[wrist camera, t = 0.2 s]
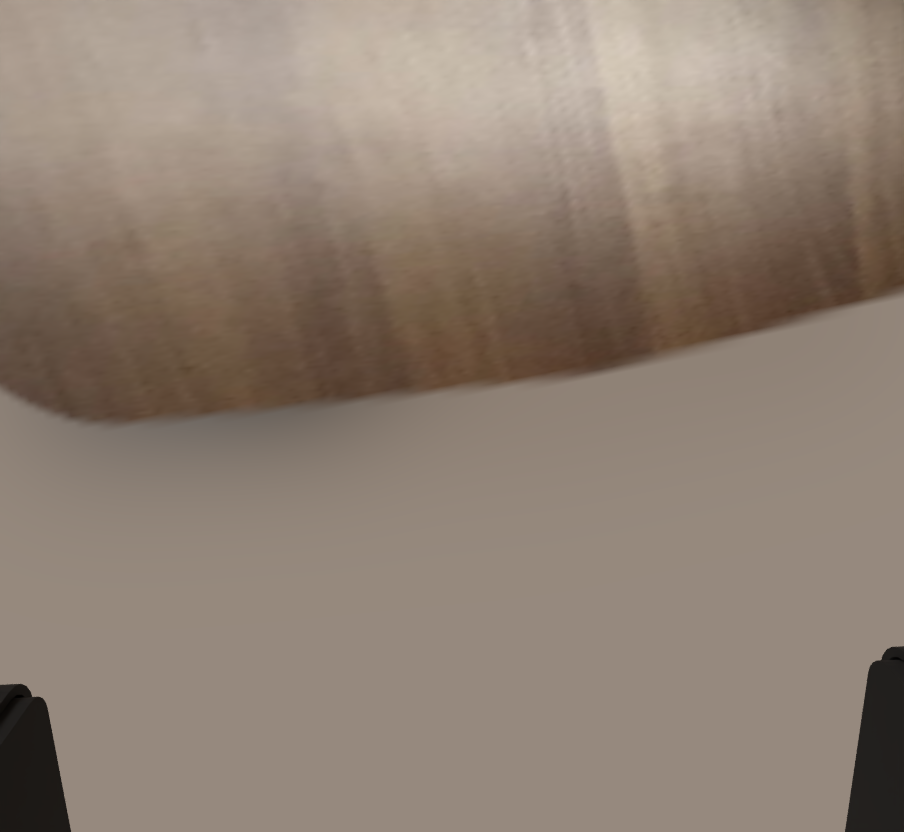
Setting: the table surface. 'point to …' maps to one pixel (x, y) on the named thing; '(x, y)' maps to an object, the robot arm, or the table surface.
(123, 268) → the table surface
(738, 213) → the table surface
